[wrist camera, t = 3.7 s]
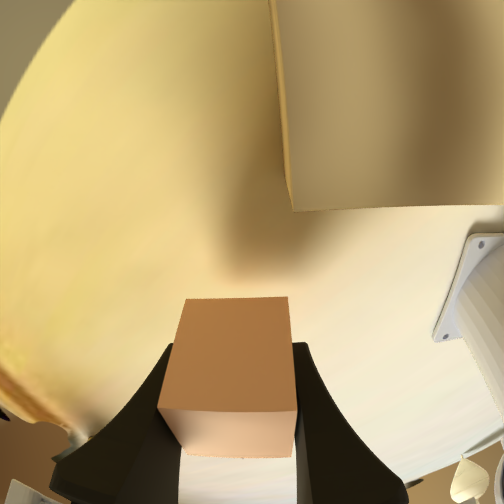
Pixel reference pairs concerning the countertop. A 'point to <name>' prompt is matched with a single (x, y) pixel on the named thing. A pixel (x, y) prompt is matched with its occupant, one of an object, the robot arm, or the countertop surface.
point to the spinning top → (468, 481)
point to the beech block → (390, 102)
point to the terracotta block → (232, 379)
